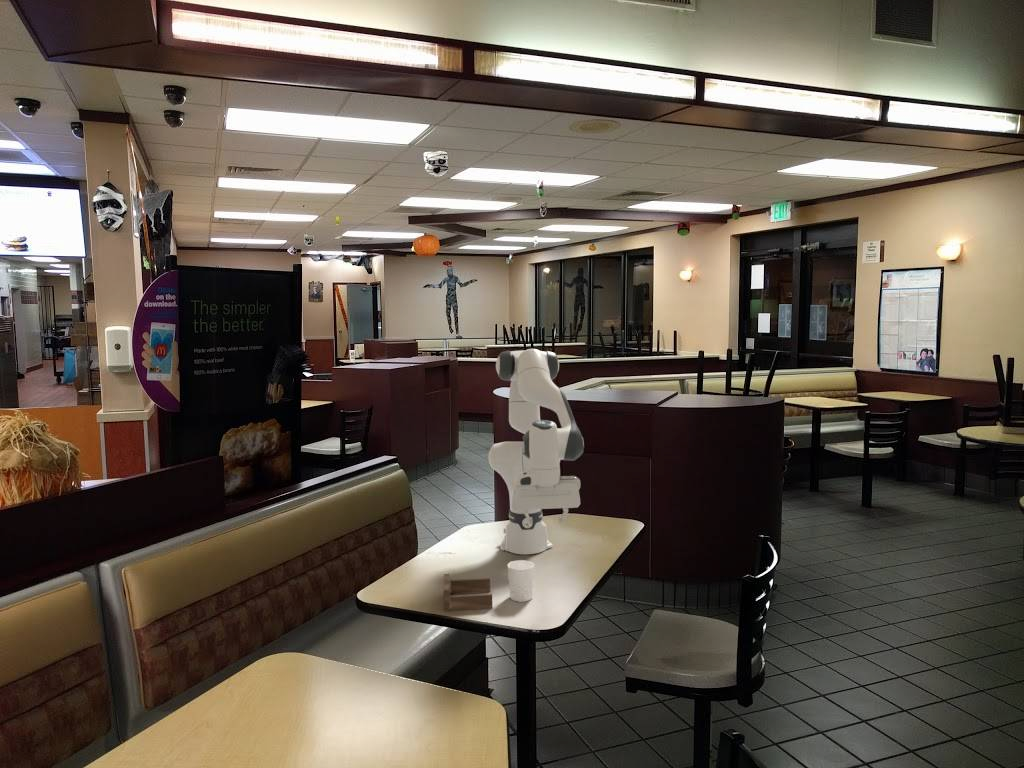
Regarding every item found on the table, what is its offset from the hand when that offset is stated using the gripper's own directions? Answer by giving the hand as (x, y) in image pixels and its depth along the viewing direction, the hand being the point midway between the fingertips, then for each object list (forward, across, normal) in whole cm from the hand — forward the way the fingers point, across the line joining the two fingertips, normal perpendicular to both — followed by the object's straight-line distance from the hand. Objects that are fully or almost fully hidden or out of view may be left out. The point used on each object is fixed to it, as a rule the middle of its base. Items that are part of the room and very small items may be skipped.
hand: (545, 523), depth 198 cm
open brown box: (+22, +23, -1) cm, 32 cm away
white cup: (+23, +8, -2) cm, 24 cm away
